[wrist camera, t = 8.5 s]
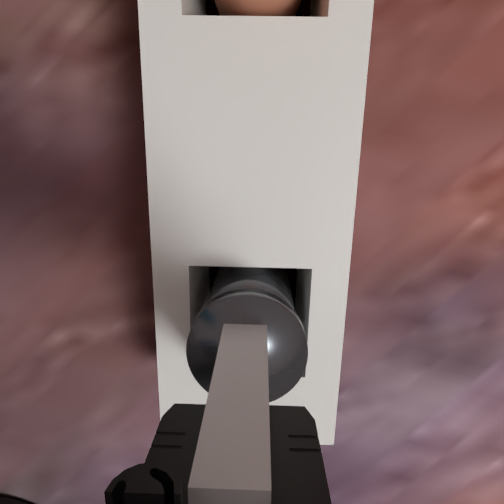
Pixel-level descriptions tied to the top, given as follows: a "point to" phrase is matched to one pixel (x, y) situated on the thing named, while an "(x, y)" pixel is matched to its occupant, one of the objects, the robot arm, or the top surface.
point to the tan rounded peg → (257, 7)
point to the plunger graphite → (251, 312)
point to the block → (253, 171)
